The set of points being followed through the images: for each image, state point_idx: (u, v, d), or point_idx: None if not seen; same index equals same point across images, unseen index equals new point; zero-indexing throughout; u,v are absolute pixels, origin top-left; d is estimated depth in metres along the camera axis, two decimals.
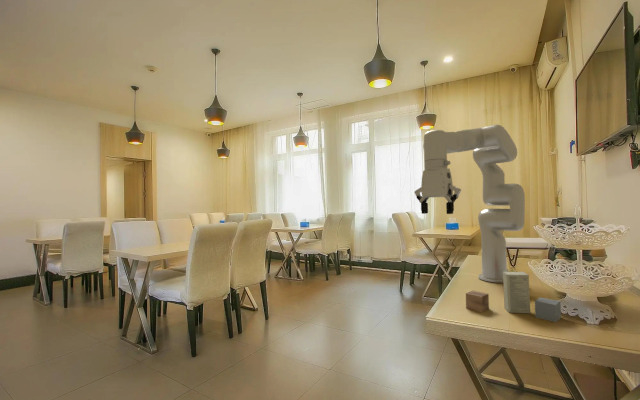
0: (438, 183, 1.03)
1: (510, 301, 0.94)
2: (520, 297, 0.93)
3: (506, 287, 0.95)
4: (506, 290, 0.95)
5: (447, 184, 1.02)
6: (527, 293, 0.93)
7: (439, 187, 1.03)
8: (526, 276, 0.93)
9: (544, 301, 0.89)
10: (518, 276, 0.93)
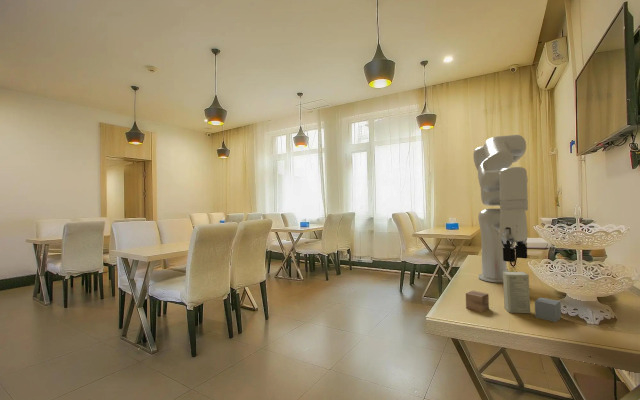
0: (525, 226, 0.95)
1: (510, 301, 0.94)
2: (520, 297, 0.93)
3: (506, 287, 0.95)
4: (506, 290, 0.95)
5: None
6: (527, 293, 0.93)
7: (525, 230, 0.95)
8: (526, 276, 0.93)
9: (544, 301, 0.89)
10: (518, 276, 0.93)
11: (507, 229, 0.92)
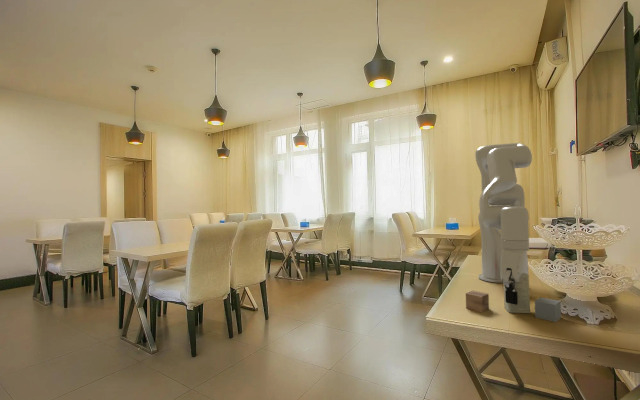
0: (526, 265, 0.95)
1: None
2: (520, 297, 0.93)
3: None
4: None
5: None
6: (527, 293, 0.93)
7: (526, 269, 0.95)
8: (526, 276, 0.93)
9: (544, 301, 0.89)
10: None
11: (508, 271, 0.92)
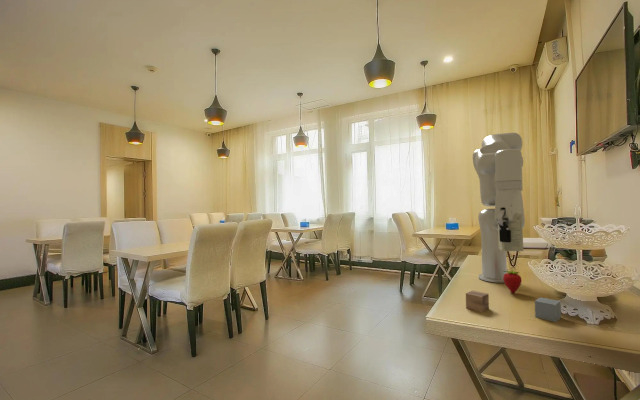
0: (520, 206, 0.98)
1: None
2: (513, 235, 0.97)
3: None
4: None
5: None
6: (520, 232, 0.96)
7: (520, 210, 0.98)
8: (519, 215, 0.96)
9: (544, 301, 0.89)
10: None
11: (502, 210, 0.95)
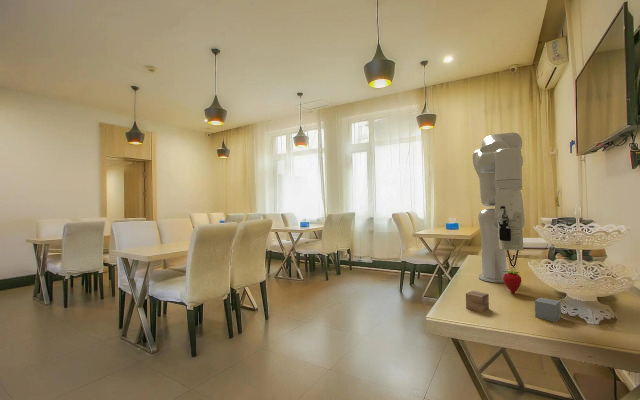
0: (520, 205, 0.98)
1: None
2: (513, 234, 0.96)
3: None
4: None
5: None
6: (520, 230, 0.96)
7: (520, 209, 0.98)
8: (519, 214, 0.96)
9: (544, 301, 0.89)
10: None
11: (502, 209, 0.95)
